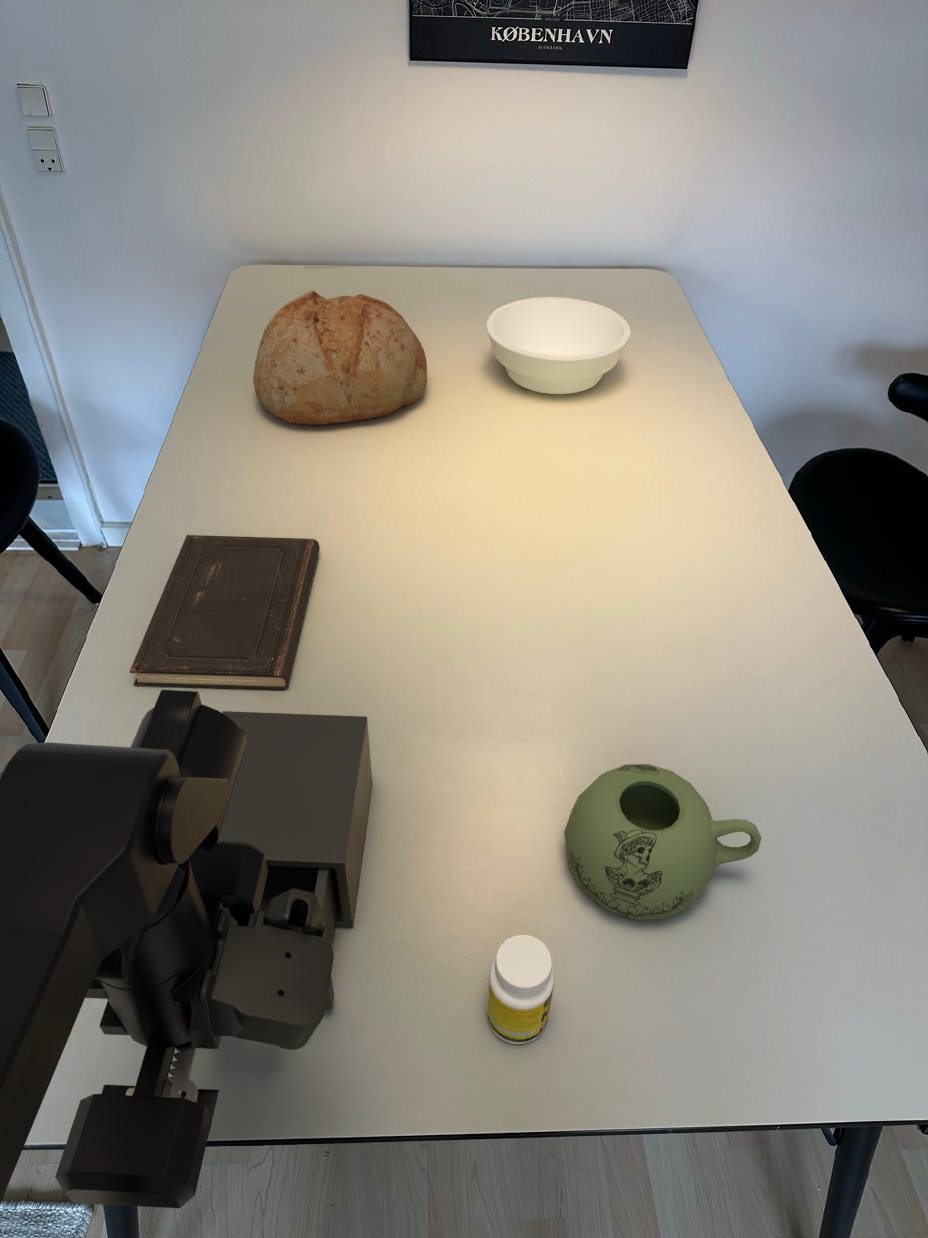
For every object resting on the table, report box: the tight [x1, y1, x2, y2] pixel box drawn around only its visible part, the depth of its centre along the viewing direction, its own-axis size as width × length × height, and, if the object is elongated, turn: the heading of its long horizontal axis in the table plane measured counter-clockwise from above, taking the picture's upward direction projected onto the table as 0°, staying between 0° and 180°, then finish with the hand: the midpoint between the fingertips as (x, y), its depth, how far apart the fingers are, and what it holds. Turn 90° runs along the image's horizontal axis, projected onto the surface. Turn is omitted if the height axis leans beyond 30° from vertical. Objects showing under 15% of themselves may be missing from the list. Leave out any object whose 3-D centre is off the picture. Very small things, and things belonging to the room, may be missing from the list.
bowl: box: [485, 296, 632, 395], centre depth 143 cm, size 22×22×8 cm
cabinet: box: [217, 710, 374, 929], centre depth 76 cm, size 15×13×10 cm
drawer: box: [221, 866, 339, 1038], centre depth 69 cm, size 18×11×8 cm, turn 178°
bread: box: [252, 290, 428, 426], centre depth 135 cm, size 26×23×15 cm
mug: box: [563, 763, 762, 920], centre depth 76 cm, size 16×13×9 cm
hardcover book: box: [129, 534, 321, 691], centre depth 101 cm, size 16×23×2 cm
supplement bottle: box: [485, 934, 555, 1045], centre depth 66 cm, size 5×5×8 cm
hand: (204, 1064), depth 54 cm, fingers open, 6 cm apart
